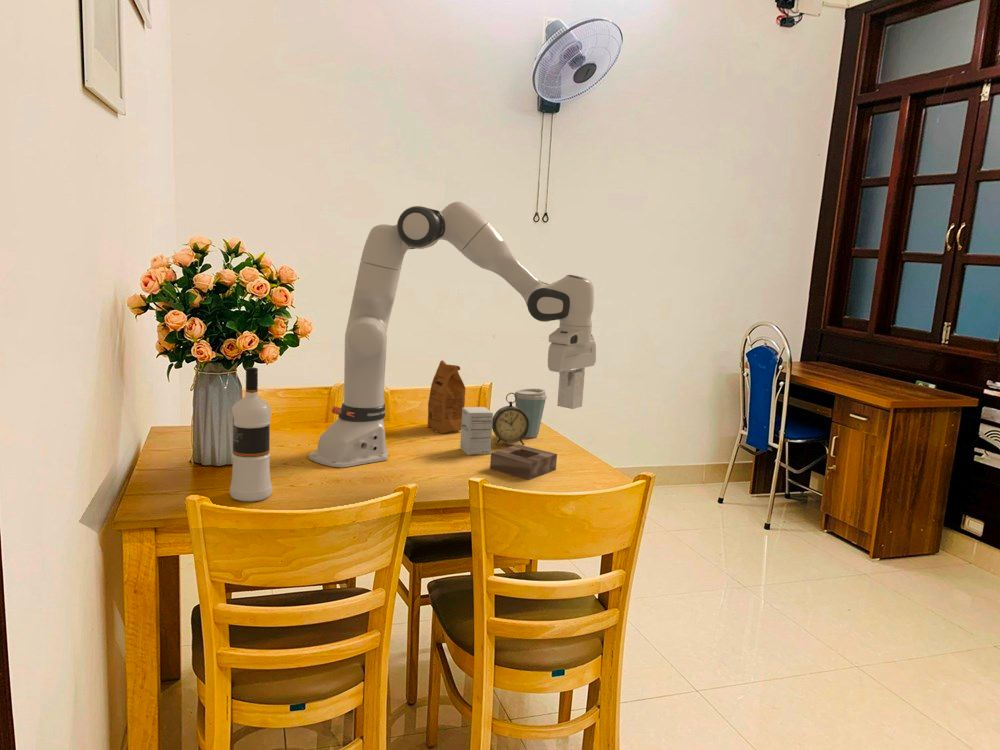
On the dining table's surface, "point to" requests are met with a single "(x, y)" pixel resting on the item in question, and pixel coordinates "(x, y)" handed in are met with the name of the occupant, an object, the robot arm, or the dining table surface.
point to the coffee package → (446, 399)
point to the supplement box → (476, 430)
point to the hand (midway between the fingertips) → (571, 384)
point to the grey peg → (572, 390)
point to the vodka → (251, 444)
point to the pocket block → (523, 461)
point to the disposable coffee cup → (531, 408)
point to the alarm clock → (510, 424)
